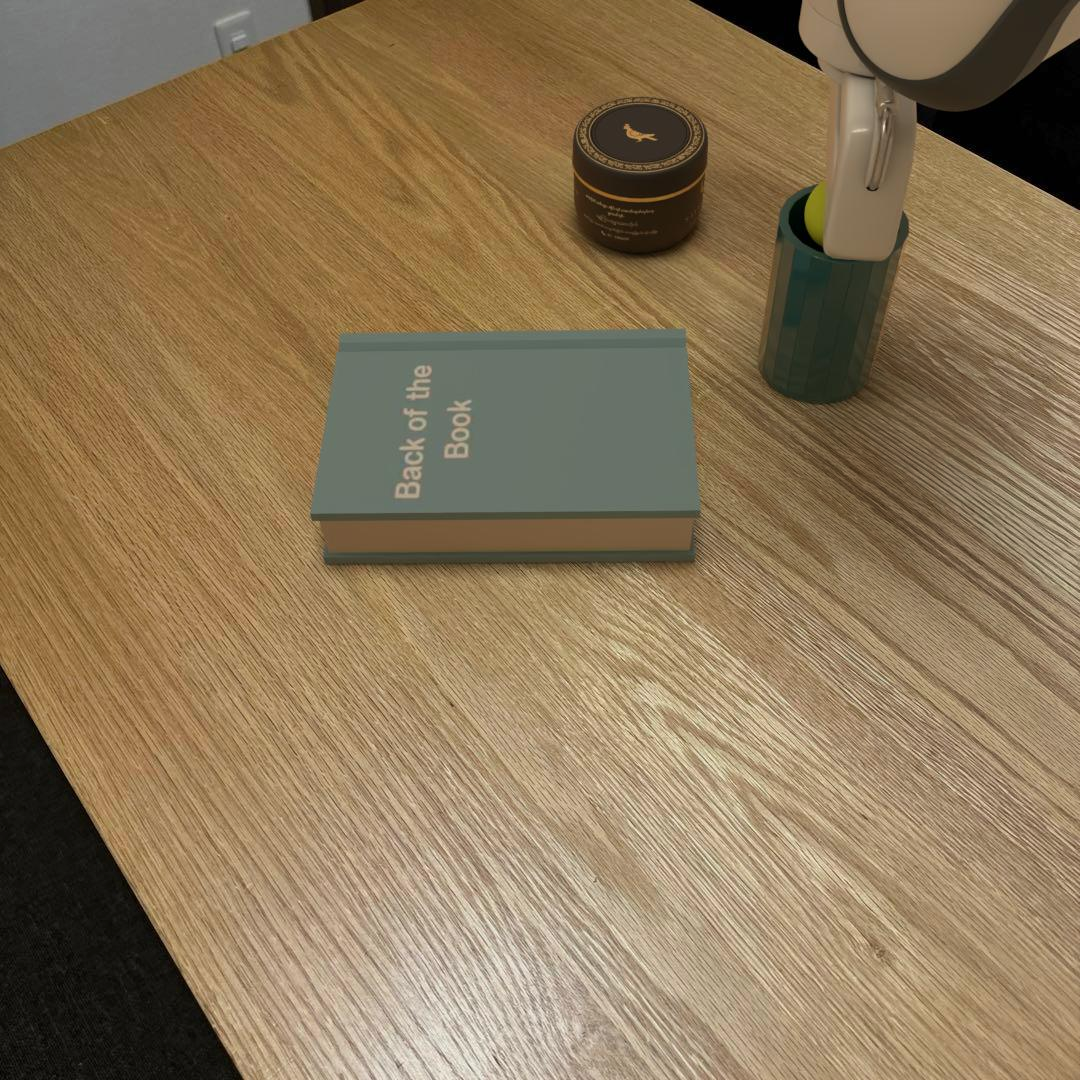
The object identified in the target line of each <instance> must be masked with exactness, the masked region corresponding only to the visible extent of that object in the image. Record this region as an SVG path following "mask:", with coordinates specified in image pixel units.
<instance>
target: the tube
mask: <svg viewBox="0 0 1080 1080" xmlns="http://www.w3.org/2000/svg"><path fill="white" fill-rule="evenodd" d="M818 184H819V183H815V184H813V185H809V186H807V187H804V188H801V189H799V190H797V191H795V192H794V193H793V194H792V195H790V196H789V197H788V198H787V199H786V200H785V201H784V203H783V204H782V206H781V208H780V209H779V212H778V219H777V226H776V232H775V238H774V244H773V251H772V258H771V265H770V269H769V277H768V283H767V290H766V296H765V303H764V309H763V317H762V322H761V329H760V336H759V343H758V351H757V366H758V369H759V373H760V375H761V376H762V377H763V379H764V380H765V382H766V383H767V384H768V385H769V386H770V387H771V388H772V389H774V390H775V391H776V392H778V393H780V394H781V395H784V396H785V397H787V398H790V399H792V400H795V401H798V402H803V403H808V404H819V405H820V404H832V403H837V402H841V401H844V400H847V399H850V398H851V397H853V396H855V395H857V394H858V393H860V392H861V390H863V389H864V388H865V387H866V385H867V384H868V382H869V381H870V379H871V376H872V373H873V371H874V367H875V363H876V360H877V356H878V352H879V348H880V345H881V341H882V337H883V334H884V330H885V326H886V321H887V318H888V314H889V311H890V307H891V303H892V299H893V295H894V292H895V289H896V284H897V281H898V277H899V273H900V269H901V265H902V262H903V258H904V254H905V250H906V246H907V244H908V243H907V242H908V239H909V235H910V221H909V218H908V216H907V214H906V212H905V211H904V209H903V212H902V216H901V220H900V225H899V229H898V234H897V238H896V242H895V245H894V248H893V251H892V252H891V254H890V255H889V256H888V257H887V258H886V259H885V260H882V261H864V260H844V259H833V258H832V257H830V256H828V255H827V254H825V252H824V248H823V247H821V246H820V245H818V244H817V243H816V242H815V241H814V240H813V239H812V237H811V236H810V234H809V232H808V230H807V228H806V224H805V215H804V214H805V207H806V203H807V200H808V198H809V196H810V194H811V193H812V191H813V190H814V189H815V188H816V186H817V185H818Z"/></svg>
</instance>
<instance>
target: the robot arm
mask: <svg viewBox="0 0 1080 1080" xmlns="http://www.w3.org/2000/svg"><path fill="white" fill-rule="evenodd" d="M801 2H802V3H801V8H800V15H799V20H798V33H799V36H800V38H801V41H802V43H803V45H804V46H805V47H806V49H808V51H809V52H810V53H812V54H813V55H814V56H815V57H816V58H817V63H818V66H819V68H820V70H821V71H822V72H823V74H824V75H825V76H826V77H828V78H829V92H828V115H827V117H828V120H827V138H826V139H827V140H826V161H825V179H826V181H825V204H824V227H823V248H824V252H825V254H827V255H828V256H830V257H832V258H833V259H844V260H864V261H882V260H885V259H886V258H887V257H888V256H889V255H890V254H891V252H892V251H893V248H894V245H895V242H896V238H897V234H898V229H899V225H900V220H901V216H902V212H903V210H904V208H905V207H904V206H905V203H906V197H907V193H908V188H909V184H910V178H911V174H912V169H913V163H914V157H915V151H916V140H917V129H918V128H917V127H918V118H917V117H918V115H917V104H920V105H922V106H925V107H928V108H930V109H934V110H939V111H943V112H965V111H971V110H975V109H978V108H981V107H983V106H985V105H987V104H990V103H991V102H994V101H995V100H996V99H997V98H999V97H1000V96H1002V95H1003V94H1004V93H1006V92H1007V91H1008V90H1010V89H1011V88H1013V87H1014V86H1015V85H1016V84H1018V83H1019V82H1020V81H1021V80H1024V78H1025V77H1027V76H1028V75H1029V74H1031V73H1032V72H1033V71H1035V70H1036V69H1037V67H1039V66H1040V65H1041V63H1043V62H1044V61H1046V60H1048V59H1049V58H1051V57H1052V56H1054V55H1055V54H1057V53H1058V52H1060V51H1061V50H1063V49H1065V48H1066V47H1068V46H1069V45H1071V44H1072V43H1074V42H1075V41H1077V40H1079V39H1080V0H802V1H801Z"/></svg>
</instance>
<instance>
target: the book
mask: <svg viewBox="0 0 1080 1080" xmlns="http://www.w3.org/2000/svg"><path fill="white" fill-rule="evenodd" d="M690 379H691V378H690V367H689V355H688V347H687V333H686V328H631V329H630V328H628V329H627V328H625V329H623V328H621V329H618V328H617V329H614V328H613V329H555V330H553V329H552V330H551V329H549V330H547V329H546V330H545V329H544V330H543V329H542V330H484V331H483V330H481V331H480V330H479V331H477V330H474V331H414V332H413V331H410V332H409V331H408V332H403V331H402V332H401V331H400V332H344V333H343V332H340V333H339V338H338V351H337V352H336V357H335V362H334V367H333V373H332V381H331V386H330V392H329V397H328V404H327V408H326V415H325V421H324V427H323V433H322V439H321V446H320V452H319V457H318V463H317V469H316V474H315V475H316V476H315V481H314V487H313V493H312V500H311V504H310V510H309V516H310V519H311V521H312V522H319V525H320V529H321V532H322V534H323V538H324V541H325V542H324V549H323V555H322V558H323V561H324V562H323V563H324V565H372V564H373V565H378V564H379V565H383V564H384V565H386V564H387V565H395V564H397V565H399V564H401V565H403V564H404V565H405V564H407V565H409V564H410V565H411V564H520V563H521V564H522V563H523V564H526V563H527V564H528V563H529V564H530V563H531V564H534V563H535V564H536V563H537V564H538V563H542V564H544V563H552V564H553V563H663V562H664V563H667V562H671V563H673V562H674V563H675V562H677V563H679V562H683V563H684V562H687V563H688V562H693V563H694V562H695V561H696V545H695V544H696V543H695V533H694V532H695V531H694V519H701V511H702V510H701V509H702V508H701V498H700V497H701V495H700V485H699V474H698V462H697V449H696V438H695V425H694V414H693V413H694V412H693V404H692V403H693V402H692V392H691V391H692V390H691V380H690Z"/></svg>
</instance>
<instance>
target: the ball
mask: <svg viewBox="0 0 1080 1080" xmlns="http://www.w3.org/2000/svg"><path fill="white" fill-rule="evenodd" d="M825 181H826V178H825V179H824V180H822V181H821V182H819V183H817V184H818V185H817V186H816V188H815V189H814V190H813V191H812V193H811V194H810V196H809V198H808V200H807V203H806V207H805V214H804V215H805V224H806V228H807V230H808V232H809V234H810V236H811V237H812V239H813V240H814V241H815V242H816V243H817V244H818V245H820V246H821V247H823V227H824V204H825Z"/></svg>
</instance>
